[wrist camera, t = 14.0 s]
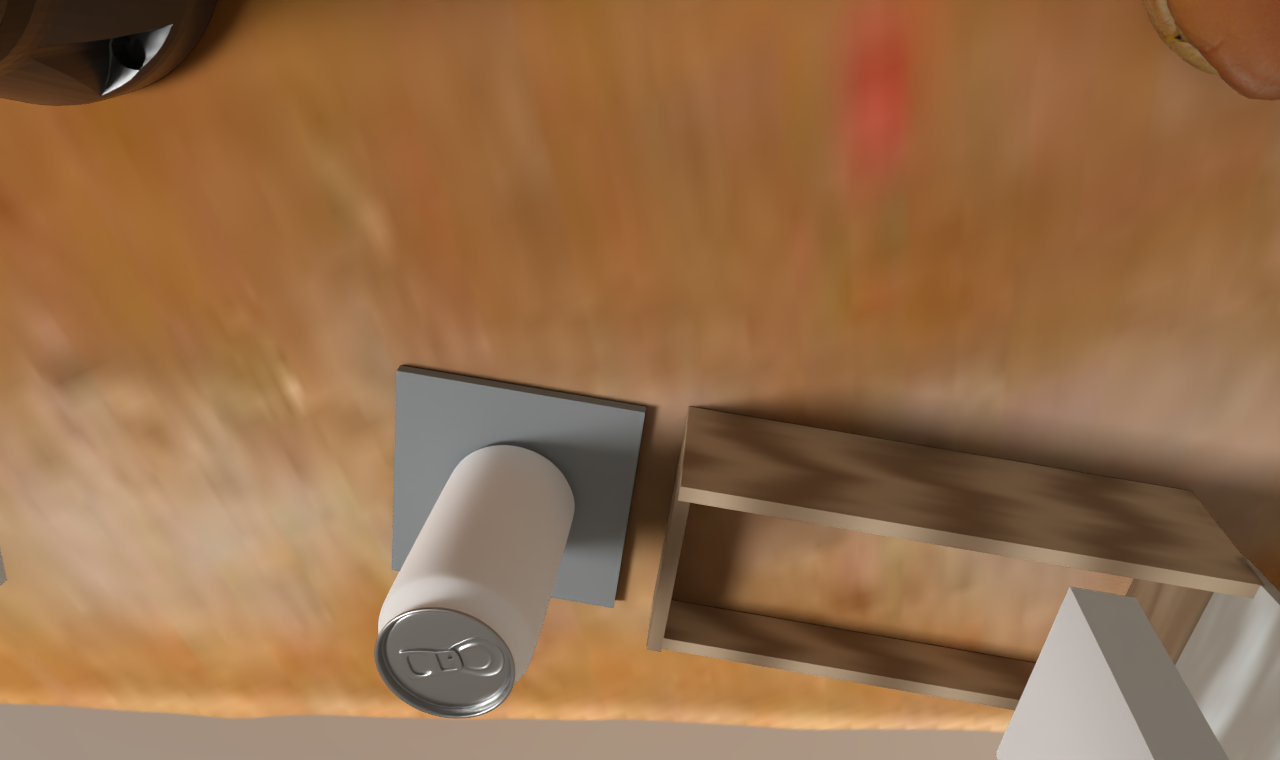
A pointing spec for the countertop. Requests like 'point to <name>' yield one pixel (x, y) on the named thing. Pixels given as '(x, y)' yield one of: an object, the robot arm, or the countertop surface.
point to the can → (476, 584)
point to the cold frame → (984, 522)
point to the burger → (1225, 40)
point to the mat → (535, 420)
